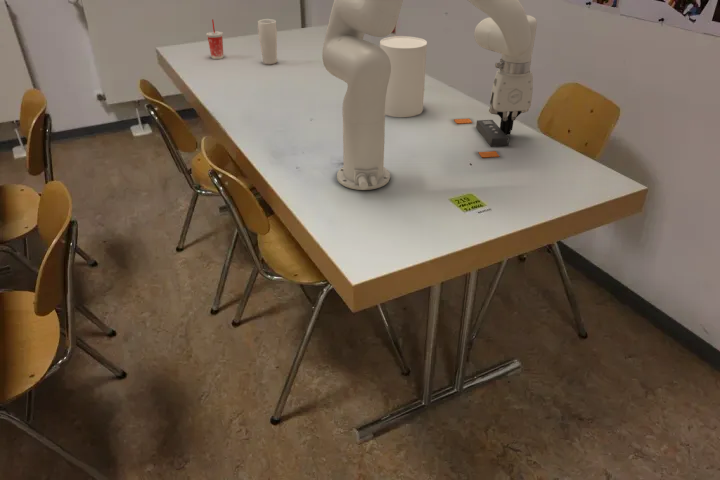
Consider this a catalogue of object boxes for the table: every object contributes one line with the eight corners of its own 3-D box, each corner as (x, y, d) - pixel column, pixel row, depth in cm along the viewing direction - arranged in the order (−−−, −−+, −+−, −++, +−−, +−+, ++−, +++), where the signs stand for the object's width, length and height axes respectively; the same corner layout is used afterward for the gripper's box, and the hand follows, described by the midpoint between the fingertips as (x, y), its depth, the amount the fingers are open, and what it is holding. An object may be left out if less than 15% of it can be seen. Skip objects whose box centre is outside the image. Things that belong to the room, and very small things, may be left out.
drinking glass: (258, 61, 217) (254, 20, 208) (275, 59, 219) (272, 18, 211) (264, 66, 211) (260, 24, 203) (281, 64, 214) (278, 22, 206)
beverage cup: (208, 55, 223) (203, 18, 215) (224, 54, 224) (220, 17, 217) (210, 60, 218) (204, 21, 210) (226, 58, 219) (221, 20, 212)
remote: (507, 145, 153) (508, 136, 151) (490, 146, 152) (492, 137, 151) (491, 126, 164) (492, 118, 162) (475, 127, 163) (476, 119, 162)
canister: (371, 104, 178) (372, 38, 167) (411, 99, 182) (414, 34, 171) (388, 119, 168) (391, 50, 157) (430, 113, 172) (435, 45, 161)
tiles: (499, 157, 147) (499, 155, 147) (482, 158, 146) (482, 157, 146) (469, 119, 168) (469, 118, 168) (453, 120, 168) (454, 119, 168)
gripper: (492, 72, 144) (483, 140, 154) (548, 69, 146) (536, 136, 156) (482, 63, 150) (475, 129, 160) (537, 60, 152) (526, 126, 162)
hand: (505, 132), depth 158 cm, fingers closed
